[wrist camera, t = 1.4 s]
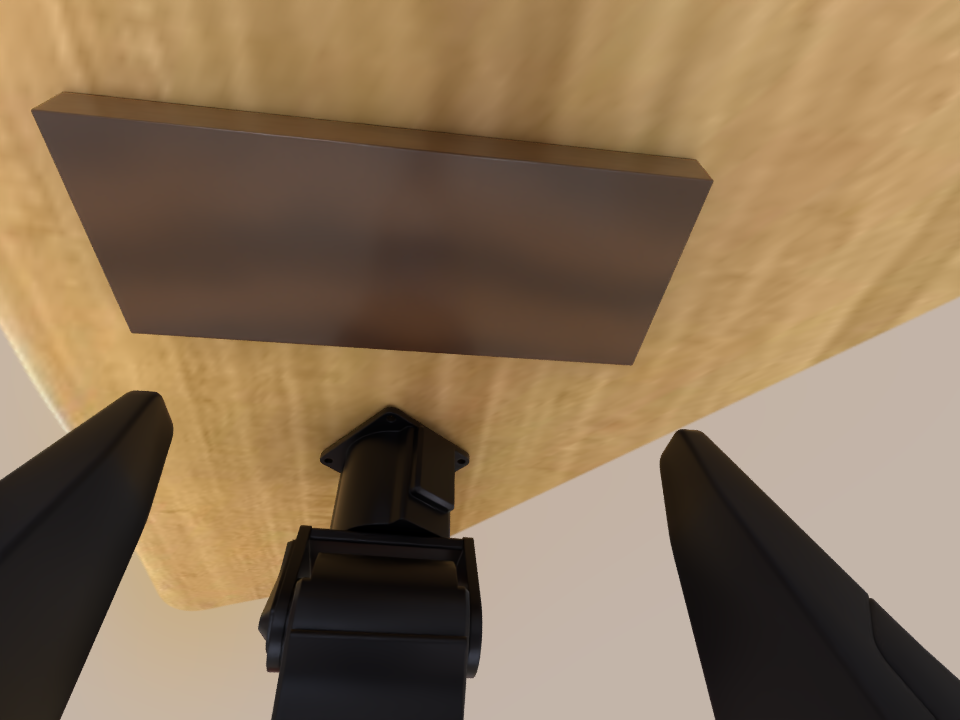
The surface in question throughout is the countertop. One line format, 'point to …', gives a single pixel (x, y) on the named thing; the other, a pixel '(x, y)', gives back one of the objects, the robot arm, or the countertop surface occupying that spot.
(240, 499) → the countertop surface
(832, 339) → the countertop surface
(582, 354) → the cutting board
